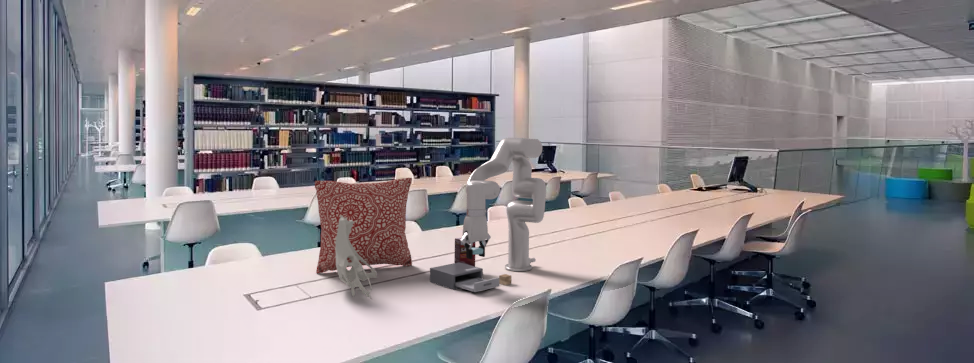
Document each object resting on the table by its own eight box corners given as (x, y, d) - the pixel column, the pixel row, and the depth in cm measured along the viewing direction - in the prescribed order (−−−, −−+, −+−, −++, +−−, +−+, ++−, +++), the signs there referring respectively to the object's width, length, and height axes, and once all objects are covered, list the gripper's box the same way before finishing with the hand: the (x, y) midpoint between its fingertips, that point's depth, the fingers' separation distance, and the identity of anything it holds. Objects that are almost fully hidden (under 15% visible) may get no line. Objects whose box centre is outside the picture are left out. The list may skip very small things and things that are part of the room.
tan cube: (505, 282, 246) (505, 273, 245) (511, 283, 243) (511, 275, 243) (499, 283, 243) (499, 275, 243) (505, 285, 241) (505, 277, 240)
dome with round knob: (476, 250, 238) (476, 246, 238) (486, 253, 234) (486, 249, 234) (465, 252, 234) (465, 248, 234) (474, 255, 230) (475, 251, 230)
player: (459, 275, 256) (459, 261, 256) (483, 282, 244) (483, 268, 244) (430, 282, 245) (429, 267, 245) (453, 289, 234) (453, 274, 233)
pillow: (318, 278, 251) (315, 181, 247) (314, 269, 266) (312, 178, 262) (416, 269, 267) (416, 178, 263) (408, 262, 282) (407, 176, 278)
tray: (475, 279, 246) (475, 270, 246) (499, 286, 235) (499, 277, 235) (451, 284, 237) (451, 276, 237) (475, 292, 226) (475, 283, 226)
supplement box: (459, 275, 257) (459, 240, 255) (454, 273, 260) (453, 238, 259) (476, 272, 262) (476, 237, 260) (469, 270, 265) (469, 236, 264)
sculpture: (384, 301, 218) (382, 222, 216) (335, 304, 214) (334, 224, 211) (378, 279, 250) (377, 210, 247) (336, 282, 245) (334, 211, 243)
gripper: (485, 210, 242) (485, 253, 243) (453, 214, 230) (453, 258, 231) (498, 212, 236) (497, 256, 237) (465, 216, 224) (465, 262, 226)
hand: (475, 257), depth 234 cm, fingers closed on dome with round knob, 5 cm apart
